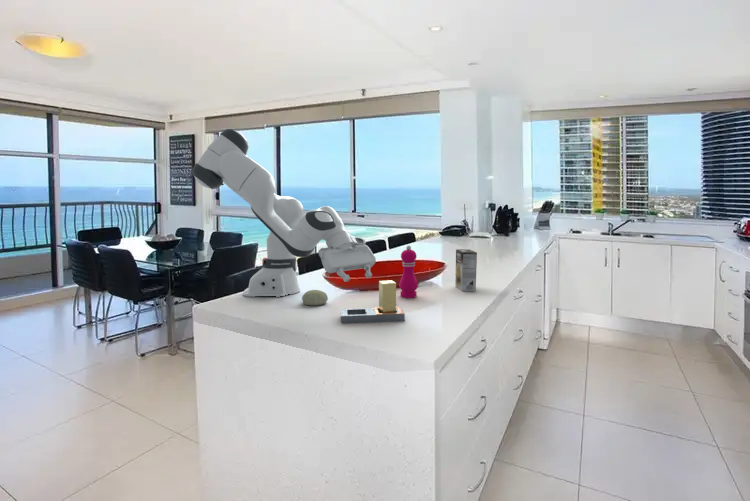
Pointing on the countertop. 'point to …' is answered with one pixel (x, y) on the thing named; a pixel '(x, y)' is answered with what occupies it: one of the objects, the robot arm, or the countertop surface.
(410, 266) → the pepper mill
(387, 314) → the grey slotted board
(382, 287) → the brass block
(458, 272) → the coffee box
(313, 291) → the sea urchin shell
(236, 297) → the countertop surface
